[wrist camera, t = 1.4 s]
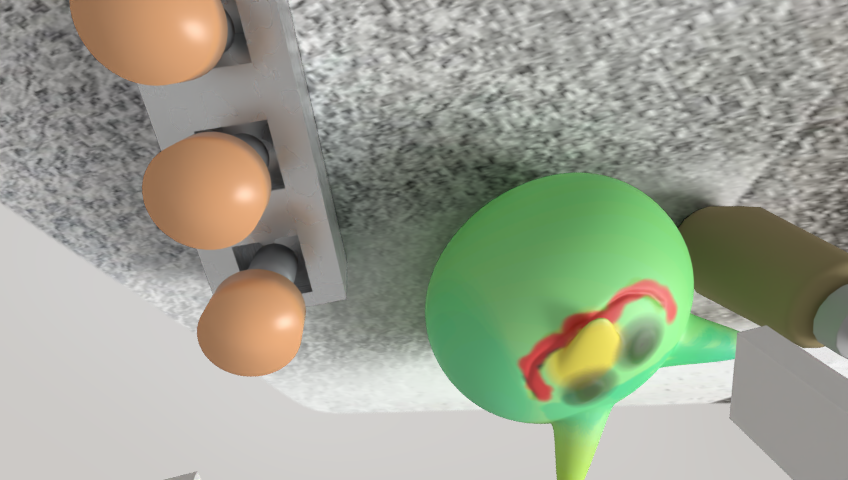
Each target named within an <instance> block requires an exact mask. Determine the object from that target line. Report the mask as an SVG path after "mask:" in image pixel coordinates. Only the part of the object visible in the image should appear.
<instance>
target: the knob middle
mask: <svg viewBox="0 0 848 480" xmlns="http://www.w3.org/2000/svg"><path fill="white" fill-rule="evenodd" d="M269 160H270V159H269V153H268V150H267V148H266V146H265V145H264V144H263V142H262V141H261V140H259V139H258V138H257V137H255V136H253V135H250V134H245V133H239V134H234V135H229V134H226V133H221V132H202V133H197V134H194V135H191V136H189V137H187V138H185V139H183V140H181V141H179V142H177V143H175V144H173V145H171V146H169V147H167V148H166V149H164V150H162V151H161V152H160V153H159V154H157V155H156V156H155V157H154V158H153V160H152V161H151V162H150V164H149V165H148V167H147V169H146V171H145V174H144V178H143V184H142V194H143V200H144V204H145V207H146V209H147V211H148V213H149V215H150V217H151V219H152V220H153V222H154V223H155V224H156V225H157V226H158V228H159V229H161V230H162V231H163V232H164V233H165V234H166V235H168V236H169V237H170V238H172V239H173V240H175V241H177V242H179V243H181V244H183V245H186V246H189V247H192V248H197V249H204V250H216V249H223V248H227V247H230V246H233V245H235V244H237V243H239V242H241V241H242V240H243V239H245V238H246V237H247V236H248V235H249V234H250V233H251V232H252V231H253V230H254V228H255V227H256V225H257V224H258V222H259V220H260V218H261V216H262V214H263V213H264V211H265V209H266V207H267V205H268V203H269V200H270V196H271V178H270V174H269V171H268V166H269Z"/></svg>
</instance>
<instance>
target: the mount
mask: <svg viewBox="0 0 848 480" xmlns="http://www.w3.org/2000/svg"><path fill="white" fill-rule="evenodd" d="M221 2H222V5H223V7H224V9H225V10H226V11H227V12H228V13H229V15H230V17H231V18H232V21H233V24H234V28H235V37H234V41H233V43H232V45H231V47H230V48H229V49H228V50H227V51H226V52H225V53H223V55H222V57H221V59H220V60H219V62H218V63H217V64H216V65H215V67H214V68H213V69H212V70H210V71H209V72H208V73H207V74H205V75H203V76H201V77H200V78H197V79H194V80H191V81H186V82H181V83H175V84H169V85H160V86H152V85H144V84H139V83H137V85H138V88H139V90H140V93H141V96H142V99H143V101H144V104H145V107H146V110H147V113H148V115H149V118H150V121H151V124H152V126H153V129H154V132H155V135H156V138H157V140H158V143H159V146H160V149H161V151H162V150H164V149H166V148H167V147H169V146H171V145H173V144H175V143H177V142H179V141H181V140H183V139H185V138H187V137H189V136H191V135H194V134H197V133H202V132H221V133H226V134H229V135H234V134H239V133H245V134H250V135H253V136H255V137H257V138H258V139H259V140H261V141H262V142H263V144H264V145H265V146H266V148H267V150H268V153H269V159H270V160H269V166H268V171H269V174H270V178H271V196H270V200H269V203H268V205H267V207H266V209H265V211H264V213H263V214H262V216H261V218H260V220H259V222H258V224H257V225H256V227H255V228H254V230H253V231H252V232H251V233H250V234H249V235H248V236H247V237H246V238H245V239H243V240H242V241H241V242H239V243H237V244H235V245H233V246H230V247H227V248H223V249H216V250H204V249H197V248H196V249H197V252H198V254H199V257H200V260H201V263H202V266H203V268H204V271H205V274H206V277H207V279H208V282H209V285H210V288H211V291H212V293H213V294H214V292H215V291H216V289H217V287H218V286H219V285H220V284H221V283H222V282H223V281H224V280H225V279H226V278H228V277H229V276H231V275H233V274H235V273H237V272H240V271H244V270H248V268H249V266H250V264H251V262H252V260H253V257H254V255H255V254H256V252H257V251H258V250H259V249H260V248H261V247H263V246H265V245H267V244H273V243H276V244H282V245H285V246H287V247H288V248H290V249H291V250H292V251H293V252H294V253H295V255H296V257H297V260H298V268H297V272H296V277H295V281H294V284H295V285H296V286H297V288H298V289H299V290H300V292H301V294H302V296H303V298H304V301H305V306H306V307H309V306H314V305H319V304H324V303H329V302H334V301H339V300H344V299H347V259H346V255H345V251H344V246H343V242H342V237H341V233H340V228H339V224H338V220H337V215H336V211H335V206H334V202H333V197H332V193H331V189H330V184H329V180H328V175H327V171H326V166H325V162H324V158H323V153H322V149H321V144H320V140H319V135H318V131H317V127H316V122H315V118H314V113H313V109H312V104H311V100H310V96H309V91H308V87H307V82H306V78H305V74H304V69H303V65H302V60H301V56H300V51H299V47H298V43H297V38H296V34H295V29H294V25H293V20H292V16H291V12H290V7H289V3H288V0H221Z"/></svg>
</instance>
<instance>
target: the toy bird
mask: <svg viewBox="0 0 848 480" xmlns="http://www.w3.org/2000/svg"><path fill="white" fill-rule="evenodd" d="M693 293H694V276H693V268H692V263H691V258H690V255H689V252H688V249H687V246H686V244H685V241H684V239H683V237H682V235H681V233H680V232H679V230H678V228H677V227H676V225H675V224H674V222H673V221H672V220H671V218H670V217H669V216H668V215H667V214H666V212H665V211H664V210H663V209H662V208H661V207H660V206H659V205H658V204H657V203H656V202H655V201H653V200H652V199H651V198H650V197H648V196H647V195H646V194H644V193H643V192H641V191H640V190H638V189H637V188H635V187H633V186H631V185H629V184H627V183H625V182H622V181H620V180H617V179H614V178H611V177H608V176H603V175H599V174H592V173H563V174H556V175H551V176H546V177H542V178H539V179H535V180H532V181H529V182H527V183H524V184H522V185H519V186H517V187H515V188H513V189H511V190H509V191H507V192H505V193H503V194H502V195H500V196H498V197H497V198H495V199H493V200H492V201H491V202H489V203H488V204H486V205H485V206H484V207H482V208H481V209H480V210H479V211H477V212H476V213H475V214H474V215H473V216H472V217H471V218H470V219H469V220H468V221H467V222H466V223H465V224H464V225H463V226H462V227H461V228H460V229H459V230H458V231H457V233H456V234H455V235H454V236H453V238H452V239H451V240H450V242H449V243H448V244H447V246H446V247H445V249H444V251H443V252H442V254H441V256H440V258H439V259H438V261H437V263H436V266H435V268H434V270H433V273H432V275H431V278H430V282H429V285H428V289H427V295H426V302H425V321H426V329H427V334H428V338H429V342H430V345H431V348H432V350H433V353H434V355H435V357H436V359H437V361H438V363H439V365H440V367H441V368H442V370H443V371H444V373H445V374H446V376H447V377H448V378H449V380H450V381H451V382H452V383H453V384H454V386H455V387H456V388H457V389H458V390H459V391H460V392H461V393H462V394H463V395H465V396H466V397H467V398H468V399H469V400H471V401H472V402H473V403H475V404H476V405H478V406H479V407H481V408H483V409H485V410H486V411H488V412H490V413H493V414H495V415H497V416H500V417H503V418H506V419H509V420H513V421H518V422H524V423H534V424H546V423H547V424H548V423H551V424H552V426H553V430H554V438H555V455H556V474H557V480H584V479H585V476H586V473H587V472H588V469H589V467H590V464H591V462H592V459H593V456H594V453H595V451H596V448H597V445H598V443H599V440H600V437H601V434H602V432H603V429H604V426H605V424H606V421H607V418H608V416H609V414H610V411H611V408H612V407H613V405H614V404H615V403H617V402H618V401H620V400H622V399H623V398H625V397H626V396H628V395H629V394H631V393H632V392H634V391H635V390H636V389H637V388H639V387H640V386H641V385H642V384H644V383H645V382H646V381H647V380H648V379H649V378H650V377H651V376H652V375H653V374H654V373H655V372H656V371H657V370H658V369H659V368H661V367H668V366H676V365H687V364H697V363H708V362H717V361H725V360H731V359H735V352H736V341H737V333H738V332H739V331H737V330H734V329H732V328H729V327H726V326H723V325H720V324H717V323H715V322H712V321H709V320H706V319H703V318H700V317H698V316H695V315H693V314H691V313H690V311H691V307H692V302H693Z"/></svg>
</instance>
